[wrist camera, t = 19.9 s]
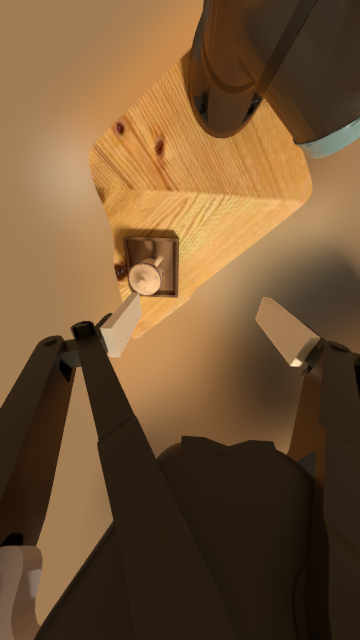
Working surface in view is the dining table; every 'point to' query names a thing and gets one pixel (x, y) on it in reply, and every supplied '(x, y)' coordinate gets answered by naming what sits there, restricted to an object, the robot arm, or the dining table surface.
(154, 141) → the dining table surface
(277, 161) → the dining table surface
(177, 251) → the walnut tray
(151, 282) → the teacup with lid
